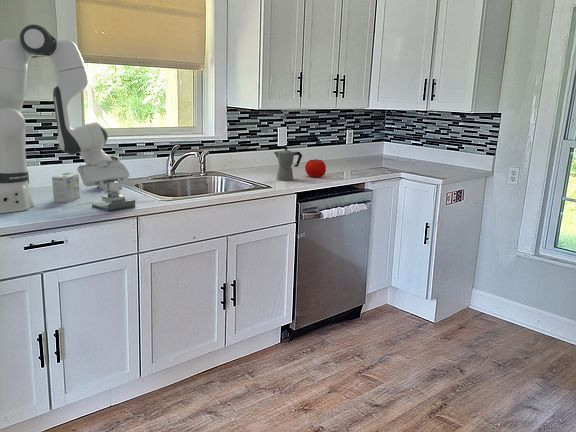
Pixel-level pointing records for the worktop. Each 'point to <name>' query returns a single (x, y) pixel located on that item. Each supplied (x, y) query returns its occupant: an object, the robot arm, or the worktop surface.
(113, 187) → the hub
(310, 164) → the tomato
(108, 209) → the seat plate
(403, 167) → the worktop surface
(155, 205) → the worktop surface
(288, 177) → the coffeepot
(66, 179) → the light bulb box
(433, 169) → the worktop surface
